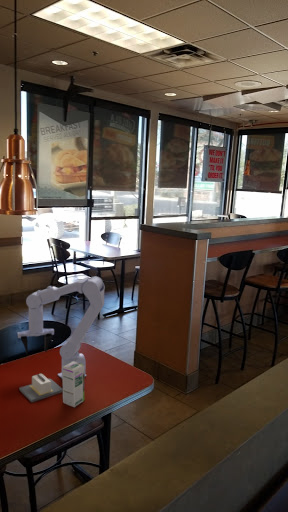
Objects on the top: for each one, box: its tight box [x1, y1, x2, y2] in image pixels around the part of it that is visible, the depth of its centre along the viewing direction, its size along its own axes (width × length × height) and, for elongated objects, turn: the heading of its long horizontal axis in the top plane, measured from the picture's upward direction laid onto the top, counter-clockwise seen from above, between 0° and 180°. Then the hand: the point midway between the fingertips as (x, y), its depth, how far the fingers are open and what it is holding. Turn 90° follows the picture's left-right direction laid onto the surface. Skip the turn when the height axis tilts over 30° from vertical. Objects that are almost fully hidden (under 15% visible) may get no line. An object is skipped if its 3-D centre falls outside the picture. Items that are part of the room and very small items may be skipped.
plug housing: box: [31, 373, 51, 394], centre depth 154 cm, size 4×8×5 cm, turn 40°
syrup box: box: [61, 361, 85, 408], centre depth 146 cm, size 6×6×14 cm
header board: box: [19, 378, 63, 403], centre depth 154 cm, size 13×11×4 cm
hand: (36, 352), depth 167 cm, fingers open, 7 cm apart
